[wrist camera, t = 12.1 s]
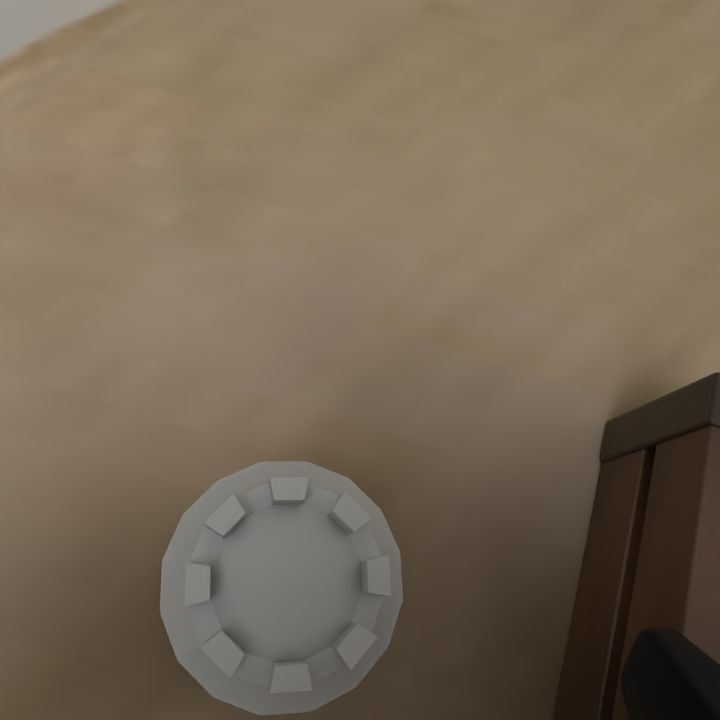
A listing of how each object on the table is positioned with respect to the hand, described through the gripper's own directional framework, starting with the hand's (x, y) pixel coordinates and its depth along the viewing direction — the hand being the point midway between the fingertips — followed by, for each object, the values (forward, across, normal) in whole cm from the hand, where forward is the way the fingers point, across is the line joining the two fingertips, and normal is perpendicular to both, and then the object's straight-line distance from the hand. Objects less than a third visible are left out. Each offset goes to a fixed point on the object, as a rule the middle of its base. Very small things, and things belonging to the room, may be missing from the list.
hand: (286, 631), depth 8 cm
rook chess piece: (+6, 0, +5) cm, 8 cm away
